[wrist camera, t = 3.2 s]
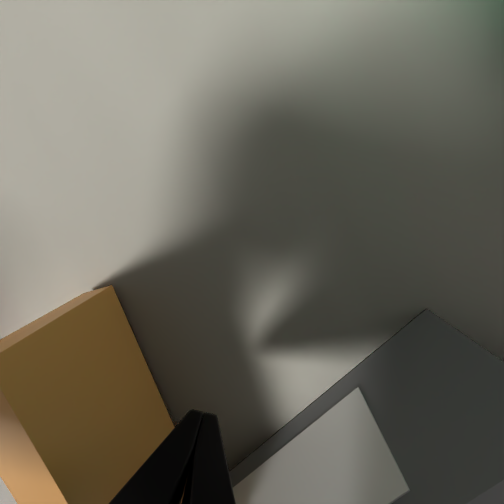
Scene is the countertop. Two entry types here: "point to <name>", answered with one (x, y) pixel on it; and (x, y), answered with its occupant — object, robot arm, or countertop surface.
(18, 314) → the countertop surface
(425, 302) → the countertop surface
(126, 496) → the robot arm
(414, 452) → the housing
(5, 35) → the countertop surface
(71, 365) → the door
